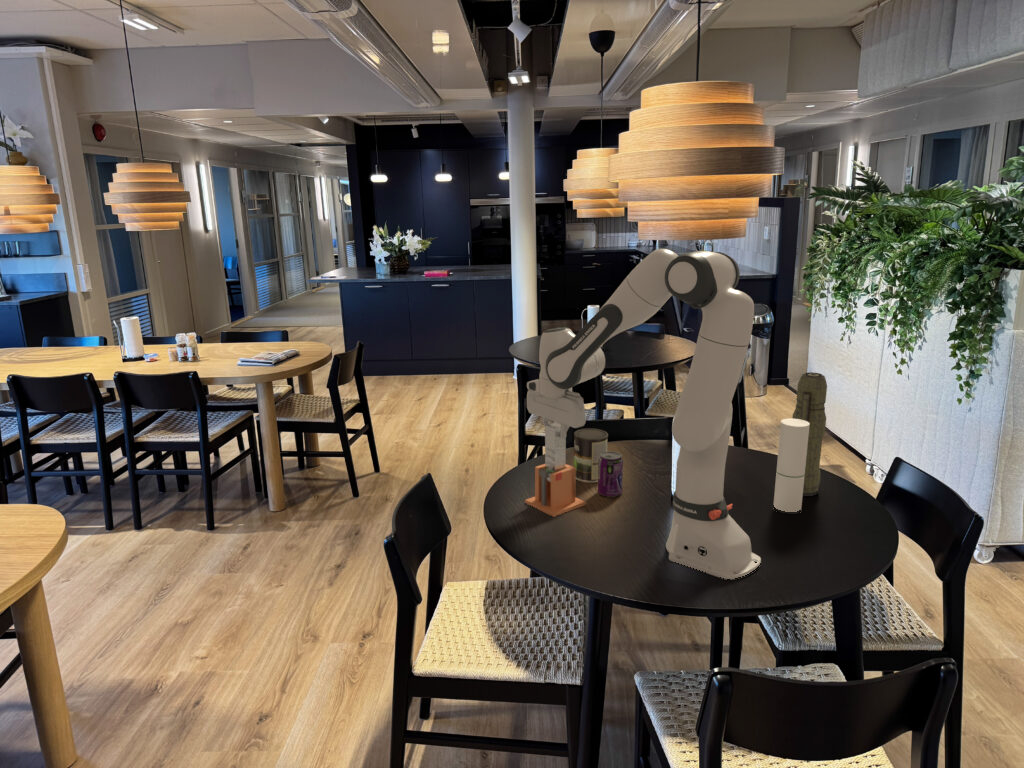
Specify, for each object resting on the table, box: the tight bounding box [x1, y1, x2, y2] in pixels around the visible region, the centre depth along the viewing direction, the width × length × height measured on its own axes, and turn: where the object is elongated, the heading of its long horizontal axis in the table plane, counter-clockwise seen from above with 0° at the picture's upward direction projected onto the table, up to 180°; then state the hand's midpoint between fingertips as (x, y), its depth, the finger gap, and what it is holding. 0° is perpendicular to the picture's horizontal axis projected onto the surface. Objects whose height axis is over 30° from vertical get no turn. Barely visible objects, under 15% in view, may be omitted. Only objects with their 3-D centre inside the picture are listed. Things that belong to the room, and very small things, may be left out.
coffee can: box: [573, 427, 609, 484], centre depth 218 cm, size 10×10×14 cm
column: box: [544, 422, 567, 482], centre depth 196 cm, size 4×5×16 cm
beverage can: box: [597, 450, 624, 498], centre depth 205 cm, size 7×7×12 cm
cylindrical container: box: [773, 417, 810, 512], centre depth 192 cm, size 7×7×25 cm
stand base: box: [524, 463, 586, 518], centre depth 199 cm, size 12×12×11 cm
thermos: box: [791, 372, 828, 493], centre depth 203 cm, size 9×12×35 cm
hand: (555, 435), depth 195 cm, fingers closed on column, 4 cm apart
